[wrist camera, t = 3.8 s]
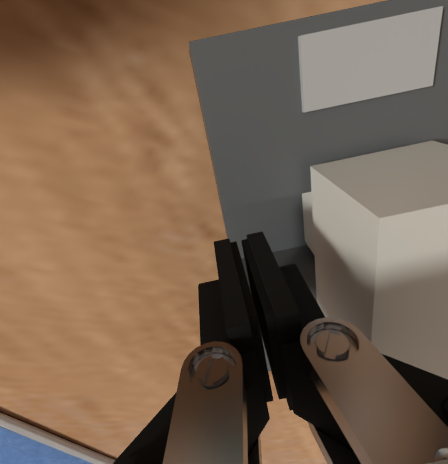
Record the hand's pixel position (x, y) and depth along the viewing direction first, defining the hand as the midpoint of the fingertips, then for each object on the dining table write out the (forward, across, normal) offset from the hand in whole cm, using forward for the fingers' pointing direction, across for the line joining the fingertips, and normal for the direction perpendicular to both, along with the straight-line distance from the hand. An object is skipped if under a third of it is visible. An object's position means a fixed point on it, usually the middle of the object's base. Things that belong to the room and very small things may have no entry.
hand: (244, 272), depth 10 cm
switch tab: (+3, -5, 0) cm, 6 cm away
